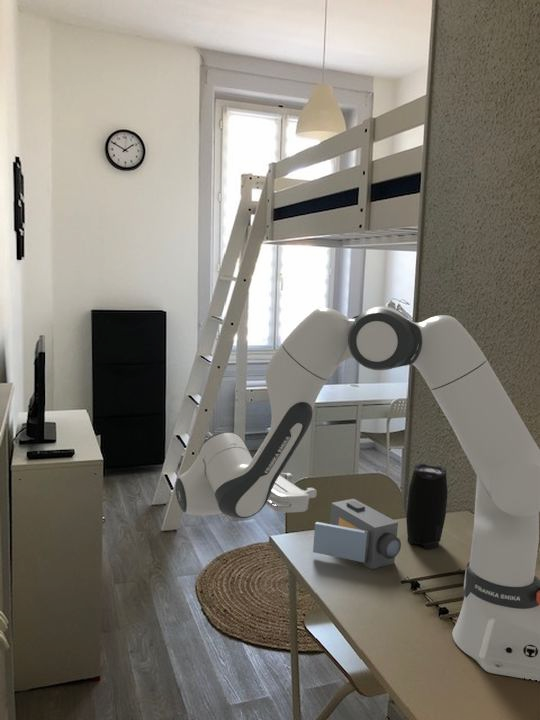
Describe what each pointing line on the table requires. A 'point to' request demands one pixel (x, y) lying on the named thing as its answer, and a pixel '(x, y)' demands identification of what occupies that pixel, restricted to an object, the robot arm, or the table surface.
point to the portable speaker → (426, 505)
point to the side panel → (341, 542)
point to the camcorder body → (368, 519)
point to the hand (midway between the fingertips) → (303, 484)
